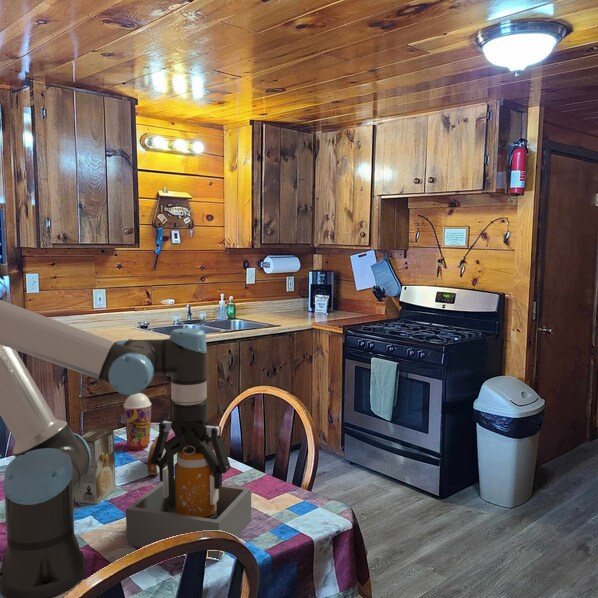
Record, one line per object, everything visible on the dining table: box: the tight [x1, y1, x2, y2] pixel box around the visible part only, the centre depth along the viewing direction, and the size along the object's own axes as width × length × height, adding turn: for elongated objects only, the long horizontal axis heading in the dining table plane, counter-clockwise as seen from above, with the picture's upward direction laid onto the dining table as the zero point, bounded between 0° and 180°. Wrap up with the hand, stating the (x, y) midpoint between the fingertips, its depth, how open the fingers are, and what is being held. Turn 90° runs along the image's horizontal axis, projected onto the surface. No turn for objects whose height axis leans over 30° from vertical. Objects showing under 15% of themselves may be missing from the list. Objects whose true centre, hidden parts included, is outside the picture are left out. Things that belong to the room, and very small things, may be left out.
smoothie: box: [123, 392, 152, 451], centre depth 182 cm, size 8×8×20 cm
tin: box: [146, 436, 168, 476], centre depth 165 cm, size 15×3×8 cm, turn 2°
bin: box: [125, 477, 252, 561], centre depth 129 cm, size 17×21×8 cm
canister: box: [164, 432, 217, 519], centre depth 128 cm, size 9×11×20 cm
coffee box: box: [74, 428, 117, 505], centre depth 147 cm, size 9×6×16 cm
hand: (190, 498), depth 128 cm, fingers closed on canister, 11 cm apart
